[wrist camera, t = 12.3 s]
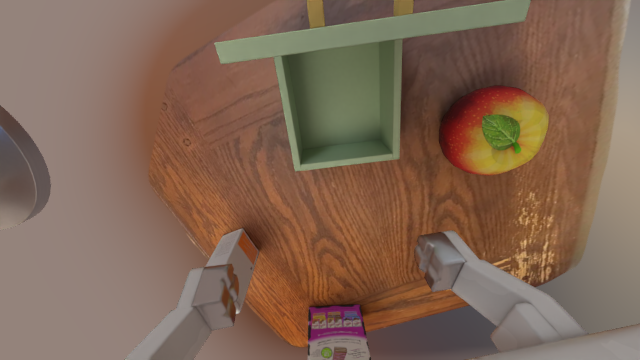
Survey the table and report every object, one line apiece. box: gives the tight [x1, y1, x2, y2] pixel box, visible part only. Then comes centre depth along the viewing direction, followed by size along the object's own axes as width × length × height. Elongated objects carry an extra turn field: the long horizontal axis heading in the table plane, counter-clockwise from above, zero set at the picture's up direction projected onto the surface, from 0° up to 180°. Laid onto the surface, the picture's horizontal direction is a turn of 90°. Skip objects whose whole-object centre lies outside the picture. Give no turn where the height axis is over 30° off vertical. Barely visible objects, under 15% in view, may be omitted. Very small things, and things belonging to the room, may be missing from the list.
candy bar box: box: [308, 305, 371, 360], centre depth 43 cm, size 11×5×16 cm, turn 93°
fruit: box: [439, 86, 549, 175], centre depth 28 cm, size 11×11×10 cm
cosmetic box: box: [205, 228, 259, 314], centre depth 36 cm, size 6×4×12 cm
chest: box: [274, 39, 402, 171], centre depth 28 cm, size 14×13×7 cm
